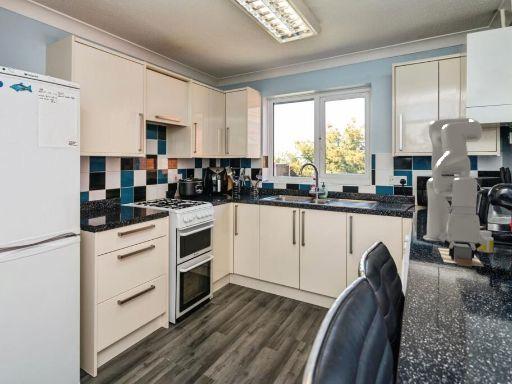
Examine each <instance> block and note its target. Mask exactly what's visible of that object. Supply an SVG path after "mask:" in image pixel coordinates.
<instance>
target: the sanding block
mask: <svg viewBox="0 0 512 384" xmlns="http://www.w3.org/2000/svg"><path fill="white" fill-rule="evenodd" d="M453 247H454V261H456V257H467V258H470V259H471V254H472V249H471V248H470V245H469V244H466V243H465V244H463V243H454V246H453Z"/></svg>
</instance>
